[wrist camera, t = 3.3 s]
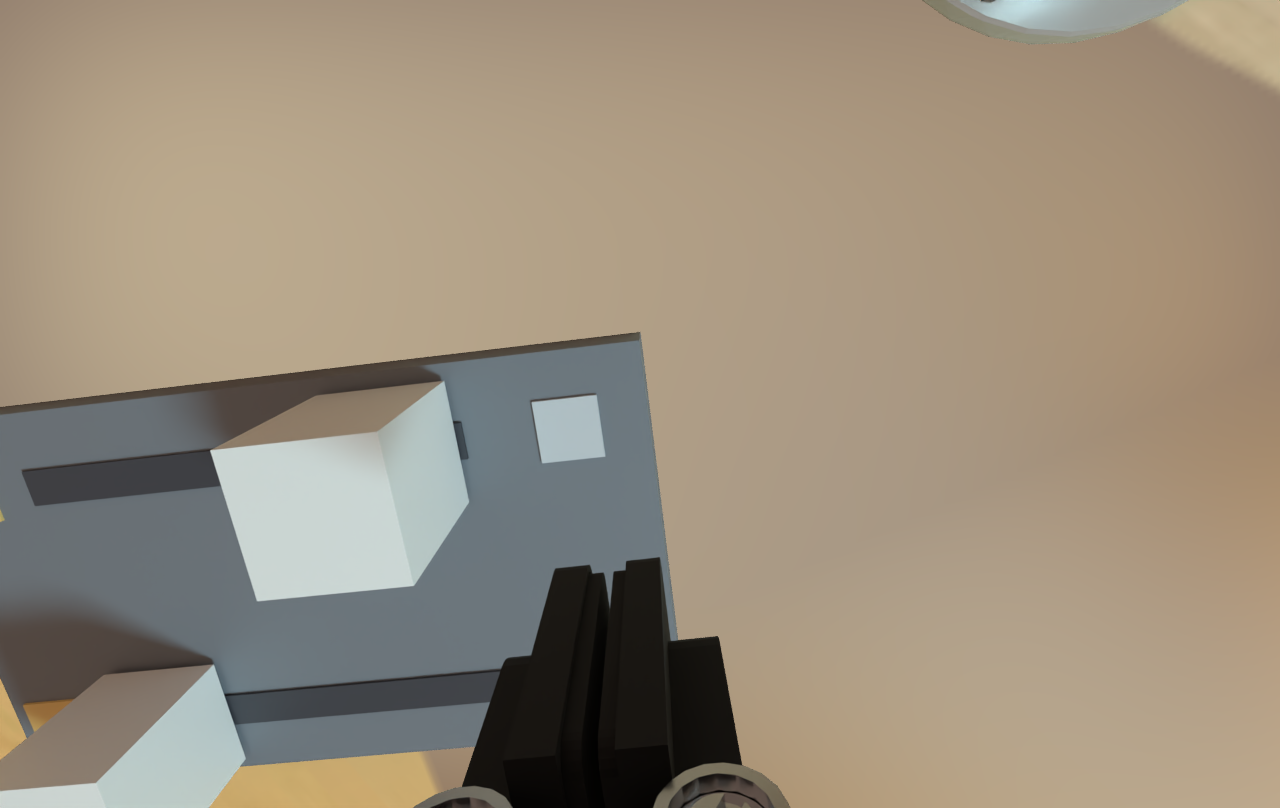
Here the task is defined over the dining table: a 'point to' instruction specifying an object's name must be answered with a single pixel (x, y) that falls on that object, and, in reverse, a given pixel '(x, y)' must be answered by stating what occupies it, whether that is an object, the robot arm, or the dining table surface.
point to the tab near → (344, 491)
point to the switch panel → (324, 624)
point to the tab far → (129, 746)
